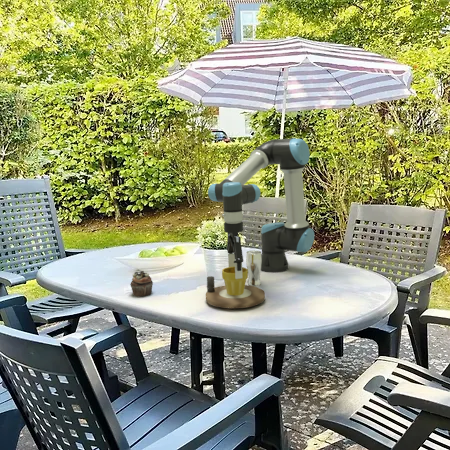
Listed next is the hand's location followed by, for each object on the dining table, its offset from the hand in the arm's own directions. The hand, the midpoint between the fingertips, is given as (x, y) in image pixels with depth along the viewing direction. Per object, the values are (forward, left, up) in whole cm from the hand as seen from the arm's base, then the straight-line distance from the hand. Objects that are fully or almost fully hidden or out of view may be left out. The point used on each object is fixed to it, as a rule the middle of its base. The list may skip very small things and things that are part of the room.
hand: (235, 273), depth 192 cm
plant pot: (0, +1, -8) cm, 8 cm away
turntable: (0, 0, -10) cm, 10 cm away
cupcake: (+37, -20, -12) cm, 44 cm away
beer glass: (-13, -20, -12) cm, 26 cm away
